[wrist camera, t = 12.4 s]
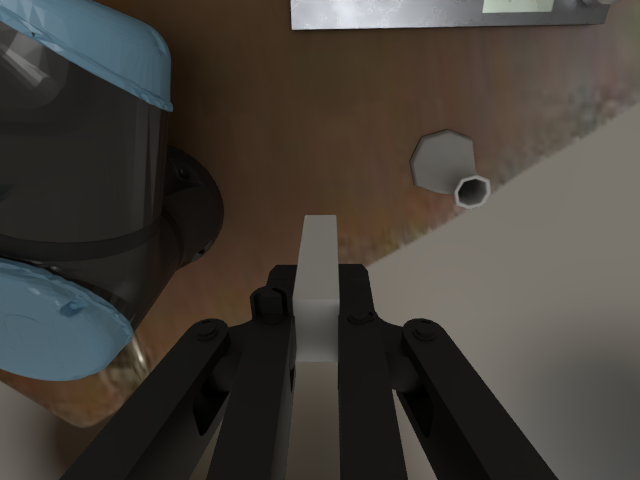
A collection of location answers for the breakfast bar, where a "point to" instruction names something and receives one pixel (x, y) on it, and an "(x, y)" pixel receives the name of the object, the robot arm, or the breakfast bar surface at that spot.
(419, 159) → the flask
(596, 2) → the console
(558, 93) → the breakfast bar surface
